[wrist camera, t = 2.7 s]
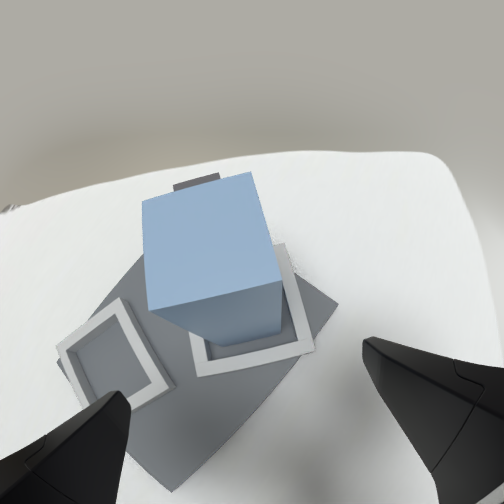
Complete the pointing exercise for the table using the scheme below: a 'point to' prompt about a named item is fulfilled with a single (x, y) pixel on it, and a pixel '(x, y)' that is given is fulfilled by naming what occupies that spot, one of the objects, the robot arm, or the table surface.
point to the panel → (184, 370)
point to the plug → (212, 260)
